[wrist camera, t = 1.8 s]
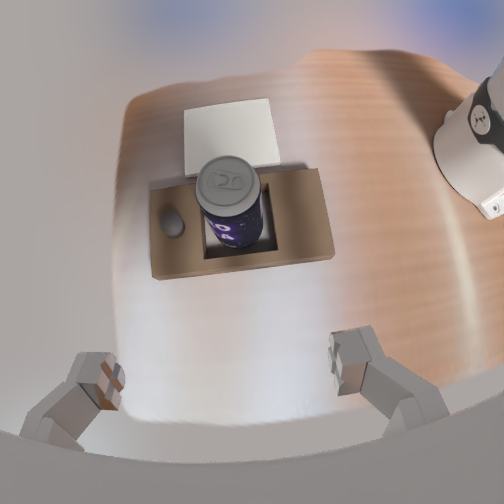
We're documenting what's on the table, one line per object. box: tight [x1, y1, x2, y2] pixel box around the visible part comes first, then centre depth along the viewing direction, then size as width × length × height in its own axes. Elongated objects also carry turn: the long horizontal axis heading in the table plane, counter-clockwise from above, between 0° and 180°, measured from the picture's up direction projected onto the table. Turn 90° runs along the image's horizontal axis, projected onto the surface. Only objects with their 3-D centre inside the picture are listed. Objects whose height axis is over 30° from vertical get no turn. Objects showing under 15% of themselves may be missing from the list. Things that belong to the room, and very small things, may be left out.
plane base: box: [150, 168, 335, 280], centre depth 34 cm, size 20×10×4 cm, turn 97°
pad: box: [184, 98, 280, 178], centre depth 39 cm, size 12×11×1 cm
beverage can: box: [195, 155, 263, 248], centre depth 31 cm, size 6×6×12 cm
